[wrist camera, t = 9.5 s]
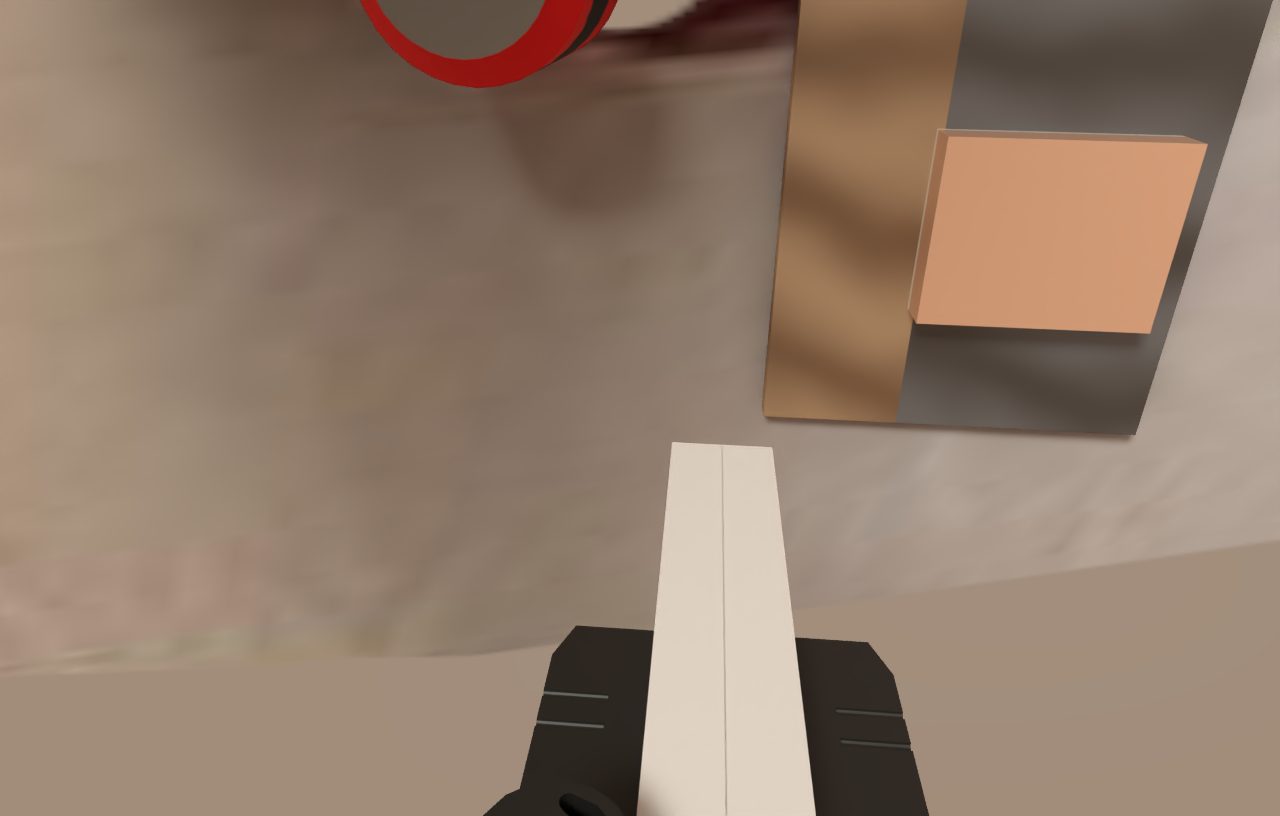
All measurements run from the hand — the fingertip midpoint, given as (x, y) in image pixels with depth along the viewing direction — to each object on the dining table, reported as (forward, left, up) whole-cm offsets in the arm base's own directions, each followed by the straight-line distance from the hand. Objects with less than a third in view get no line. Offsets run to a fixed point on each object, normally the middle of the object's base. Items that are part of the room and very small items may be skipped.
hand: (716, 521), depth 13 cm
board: (+2, +12, -28) cm, 31 cm away
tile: (+2, +9, -26) cm, 28 cm away
